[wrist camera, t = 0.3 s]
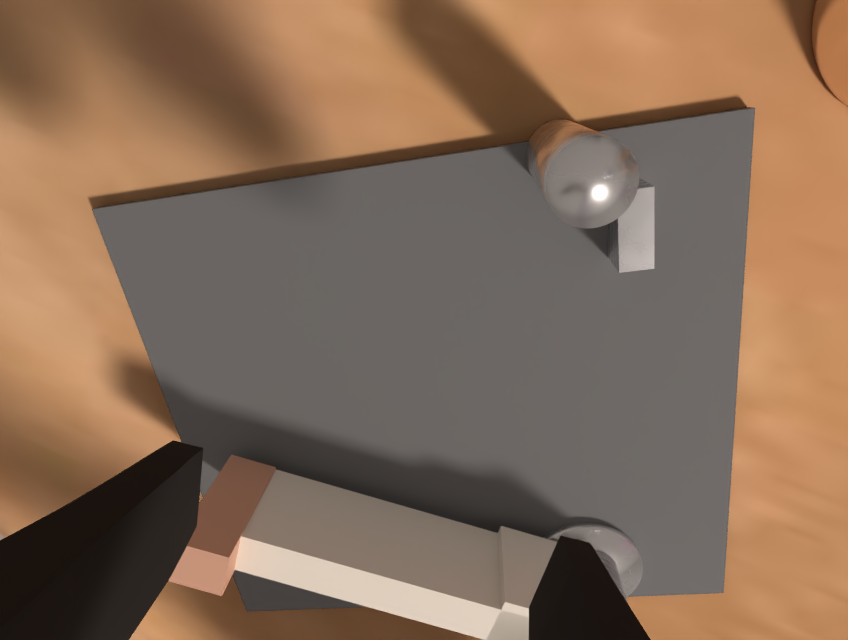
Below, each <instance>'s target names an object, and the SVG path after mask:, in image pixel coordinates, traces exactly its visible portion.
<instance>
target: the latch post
mask: <svg viewBox="0 0 848 640" xmlns="http://www.w3.org/2000/svg"><path fill="white" fill-rule="evenodd" d="M526 161H527V166H528V169H529V171H530V173H531V175H532V177H533V178H534V180H535V182H536V184H537V185H538V187H539V189H540V190H541V192H542V194H543V196H544V197H545V199H546V201H547V202H548V204H549V206H550V207H551V209H552V211H553V212H554V213H555V214H556V216H557V217H558V218H560V219H561V220H562V221H564V222H565V223H567V224H569V225H571V226H574V227H578V228H587V229H588V228H597V227H601V226H604V225H607V255H608V258H609V260H610V261H611V262H612V264H613V265H614V266H615V268H616V269H617V270H618V272H619V273H622V272H630V271H639V270H647V269H654V186H653V185H651V184H649V183H648V182H646V181H644V180H643V179H641V178H639V170H638V165H637V162H636V160H635V158H634V156H633V154H632V153H631V151H630V150H629V149H628V148H627V147H626V146H625V145H624V144H622V143H621V142H619V141H617V140H615V139H613V138H611V137H608V136H606V135H604V134H601V133H599V132H597V131H594V130H592V129H589V128H587V127H585V126H582V125H580V124H577V123H575V122H573V121H570V120H565V119H558V120H552V121H549V122H547V123H545V124H543V125H541V126H540V127H539V128H538V129H537V130H536V131H535V132H534V133H533V134H532V136H531V137H530V139H529V145H528V148H527V154H526Z"/></svg>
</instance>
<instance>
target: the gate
mask: <svg viewBox="0 0 848 640" xmlns="http://www.w3.org/2000/svg"><path fill="white" fill-rule="evenodd" d="M556 544H557V542H556V541H552V540H549V539H545V538H542V537H538V536H535V535H532V534H528V533H525V532H521V531H518V530H514V529H511V528H507V527H504V526H501V527H500V529H499V531H498V533H496V532H492V531H489V530H485V529H482V528H478V527H475V526H471V525H468V524H464V523H461V522H457V521H454V520H450V519H447V518H444V517H440V516H437V515H433V514H430V513H426V512H423V511H419V510H416V509H412V508H409V507H405V506H402V505H398V504H395V503H391V502H388V501H384V500H381V499H377V498H374V497H370V496H367V495H363V494H360V493H356V492H353V491H349V490H346V489H343V488H339V487H336V486H332V485H329V484H325V483H322V482H318V481H315V480H311V479H308V478H304V477H301V476H297V475H294V474H290V473H287V472H283V471H280V470H276V467H273V466H270V465H266V464H263V463H259V462H256V461H252V460H249V459H245V458H242V457H238V456H235V455H231V456H230V458H229V459H228V461H227V462H226V464H225V465H224V467H223V468H222V470H221V471H220V473H219V474H218V476H217V477H216V479H215V480H214V482H213V483H212V485H211V486H210V488H209V490H208V491H207V493H206V494H205V496H204V497H203V499H202V500H201V502H200V503H199V507H198V519H197V527H196V529H195V531H194V533H193V535H192V537H191V539H190V541H189V543H188V545H187V547H186V549H185V551H184V553H183V555H182V556H181V558H180V560H179V562H178V564H177V566H176V568H175V570H174V572H173V573H172V575H171V577H170V578H169V582H173V583H176V584H180V585H184V586H187V587H191V588H194V589H198V590H201V591H205V592H209V593H212V594H216V595H219V596H222V595H223V593H224V591H225V589H226V587H227V585H228V583H229V581H230V579H231V577H232V575H233V573H234V571H235V570H237V571H241V572H245V573H248V574H252V575H255V576H259V577H262V578H266V579H269V580H273V581H277V582H280V583H284V584H287V585H291V586H294V587H298V588H302V589H305V590H309V591H312V592H316V593H319V594H323V595H327V596H330V597H334V598H337V599H341V600H344V601H348V602H352V603H355V604H359V605H362V606H366V607H369V608H373V609H376V610H380V611H384V612H387V613H391V614H394V615H398V616H401V617H405V618H409V619H412V620H416V621H419V622H423V623H426V624H430V625H434V626H437V627H441V628H444V629H448V630H451V631H455V632H459V633H462V634H466V635H469V636H473V637H476V638H480V639H482V640H529V606H530V604H531V601H532V599H533V597H534V594H535V592H536V590H537V588H538V585H539V583H540V581H541V578H542V576H543V574H544V572H545V569H546V567H547V565H548V562H549V560H550V558H551V555H552V553H553V551H554V549H555V546H556Z"/></svg>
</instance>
